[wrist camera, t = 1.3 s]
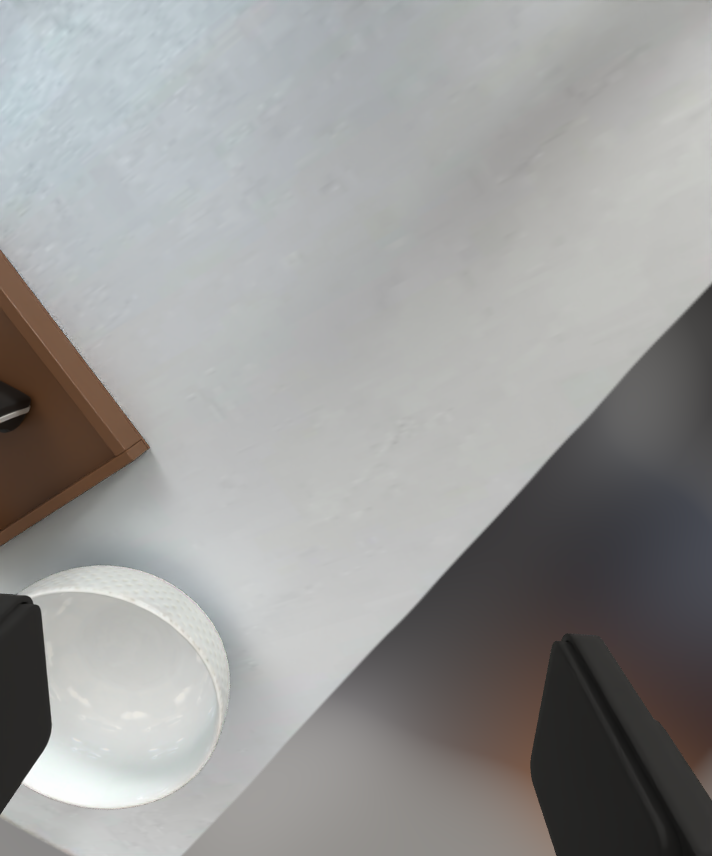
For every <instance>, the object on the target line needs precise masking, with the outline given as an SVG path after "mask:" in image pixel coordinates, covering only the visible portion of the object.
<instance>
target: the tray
mask: <svg viewBox="0 0 712 856" xmlns="http://www.w3.org/2000/svg"><path fill="white" fill-rule="evenodd" d="M0 381H2V382H4V383H6V384H8V385H10V386H11V387H13V388H15V389H17V390H19V391H21V392H23V393H24V394H26V395H28V396H29V397H30V398H31V403H30V409H29V412H28V413H26V415H25V417H24V420H23V421H22V422H21V424H20V425H19V426H18V427H17V428H16V429H14V430H13V431H10V432H7V433H1V432H0V546H2V545H3V544H5V543H6V542H8V541H9V540H11V539H12V538H14V537H16V536H17V535H19V534H20V533H22V532H23V531H25V530H26V529H28V528H30V527H31V526H33V525H34V524H36V523H37V522H39V521H41V520H42V519H44V518H45V517H47V516H48V515H50V514H51V513H53V512H55V511H56V510H58V509H59V508H61V507H62V506H64V505H65V504H67V503H69V502H70V501H72V500H73V499H75V498H76V497H78V496H79V495H81V494H83V493H84V492H86V491H87V490H89V489H90V488H92V487H94V486H95V485H97V484H98V483H100V482H101V481H103V480H104V479H106V478H108V477H109V476H111V475H112V474H114V473H115V472H117V471H118V470H120V469H122V468H123V467H125V466H126V465H128V464H129V463H131V462H133V461H134V460H135V459H136V458H138V457H139V456H140V455H141V454H143V453H144V452H145V451H147V450H148V449H149V448H150V447H149V445H148V444H147V443H146V442H145V440H144V439H143V438H142V436H141V435H140V434H139V432H138V431H137V430H136V428H135V427H134V426H133V424H132V423H131V422H130V420H129V419H128V418H127V416H126V415H125V414H124V412H123V411H122V410H121V408H120V407H119V406H118V405H117V403H116V402H115V401H114V399H113V398H112V397H111V395H110V394H109V393H108V391H107V390H106V389H105V387H104V386H103V385H102V383H101V382H100V381H99V379H98V378H97V377H96V375H95V374H94V373H93V372H92V370H91V369H90V368H89V366H88V365H87V364H86V362H85V361H84V360H83V358H82V357H81V356H80V354H79V353H78V352H77V350H76V349H75V348H74V346H73V345H72V344H71V342H70V341H69V340H68V338H67V337H66V336H65V335H64V333H63V332H62V331H61V329H60V328H59V327H58V325H57V324H56V323H55V321H54V320H53V319H52V317H51V316H50V315H49V313H48V312H47V311H46V309H45V308H44V307H43V305H42V304H41V303H40V302H39V300H38V299H37V298H36V296H35V295H34V294H33V292H32V291H31V290H30V288H29V287H28V286H27V284H26V283H25V282H24V280H23V279H22V278H21V276H20V275H19V274H18V272H17V271H16V270H15V268H14V267H13V266H12V265H11V263H10V262H9V261H8V259H7V258H6V257H5V255H4V254H3V253H2V251H1V250H0Z"/></svg>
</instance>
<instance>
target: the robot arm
mask: <svg viewBox="0 0 712 856" xmlns="http://www.w3.org/2000/svg"><path fill="white" fill-rule="evenodd" d="M51 730H52V720H51V709H50V699H49V688H48V677H47V667H46V656H45V645H44V635H43V624H42V613H41V608H40V607H39V606H38V605H36V604H33V601H32V599H31V597H29V596H27V595H13V594H0V814H1V813H2V811H3V810H4V808H5V807H6V805H7V804H8V802H9V801H10V799H11V798H12V796H13V795H14V793H15V792H16V791H17V789H18V788H19V786H20V785H21V783H22V782H23V780H24V779H25V777H26V776H27V774H28V773H29V771H30V770H31V769H32V767H33V766H34V764H35V763H36V761H37V760H38V758H39V757H40V755H41V754H42V752H43V751H44V749H45V748H46V746H47V744H48V741H49V739H50V735H51ZM531 777H532V782H533V785H534V788H535V791H536V794H537V797H538V801H539V804H540V807H541V810H542V813H543V816H544V819H545V822H546V825H547V828H548V831H549V834H550V837H551V840H552V843H553V846H554V849H555V852H556V855H557V856H712V800H711V799H710V797H709V796H708V794H707V792H706V791H705V789H704V788H703V786H702V785H701V783H700V782H699V780H698V779H697V778H696V776H695V774H694V773H693V772H692V770H691V768H690V767H689V765H688V764H687V762H686V761H685V759H684V758H683V756H682V755H681V753H680V752H679V750H678V748H677V747H676V745H675V744H674V743H673V741H672V739H671V738H670V736H669V735H668V733H667V732H666V730H665V729H664V728H663V727H662V725H661V724H660V723H659V722H658V721H656V720H654V719H653V717H652V716H651V714H650V713H649V711H648V710H647V708H646V707H645V705H644V703H643V702H642V700H641V699H640V697H639V696H638V694H637V693H636V691H635V690H634V688H633V686H632V685H631V684H630V682H629V680H628V679H627V677H626V676H625V674H624V673H623V671H622V670H621V668H620V667H619V665H618V663H617V662H616V660H615V659H614V658H613V656H612V654H611V653H610V651H609V650H608V648H607V646H606V645H605V644H604V642H603V640H602V639H601V638H600V637H599V636H595V635H581V634H565V635H564V636H563V638H562V641H555V642H554V643H553V645H552V649H551V654H550V659H549V665H548V670H547V675H546V681H545V686H544V691H543V696H542V702H541V707H540V712H539V718H538V723H537V729H536V734H535V739H534V744H533V750H532V755H531Z"/></svg>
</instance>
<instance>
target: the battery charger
mask: <svg viewBox="0 0 712 856" xmlns="http://www.w3.org/2000/svg"><path fill="white" fill-rule="evenodd" d="M30 403H31V398H30V397H29V396H28V395H26V394H24V393H23V392H21V391H19V390H17V389H15V388H13V387H11V386H10V385H8V384H6V383H4V382H2V381H0V432H1V433H7V432H10V431H13V430H14V429H16V428H17V427H18V426H19V425H20V424H21V422H22V421H23V420H24V417H25V415H26V413H28V412H29V409H30Z"/></svg>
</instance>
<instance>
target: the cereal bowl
mask: <svg viewBox="0 0 712 856" xmlns="http://www.w3.org/2000/svg"><path fill="white" fill-rule="evenodd" d="M16 595H27V596H29V597H31V599H32V601H33V604H36V605H38V606H39V607H40V608H41V613H42V624H43V635H44V645H45V656H46V667H47V677H48V688H49V699H50V709H51V720H52V730H51V735H50V739H49V741H48V744H47V746H46V748H45V749H44V751H43V752H42V754H41V755H40V757H39V758H38V760H37V761H36V763H35V764H34V766H33V767H32V769H31V770H30V771H29V773H28V774H27V776H26V777H25V779H24V780H23V782H22V783H21V784H23V785H24V786H26V787H28V788H29V789H31V790H33V791H35V792H37V793H39V794H41V795H43V796H46V797H48V798H50V799H53V800H56V801H59V802H63V803H66V804H70V805H74V806H79V807H84V808H92V809H124V808H130V807H136V806H140V805H144V804H148V803H151V802H154V801H157V800H159V799H162V798H164V797H166V796H168V795H170V794H172V793H174V792H176V791H177V790H179V789H180V788H182V787H183V786H184V785H186V784H187V783H188V782H189V781H191V780H192V779H193V778H194V777H195V776H196V775H197V774H198V773H199V772H200V771H201V770H202V768H203V767H204V766H205V764H206V763H207V761H208V760H209V758H210V757H211V755H212V753H213V751H214V749H215V747H216V745H217V743H218V740H219V737H220V735H221V733H222V727H223V724H224V722H225V717H226V713H227V710H228V702H229V690H230V673H229V665H228V660H227V656H226V651H225V650H224V646H223V643H222V640H221V639H220V636H219V633H218V632H217V631H216V629H215V627H214V624H213V623H212V622H211V620H210V619H209V618H208V617H207V615H206V613H205V612H203V610H202V609H201V608H200V607H199V606H198V604H197V603H195V602H194V601H193V600H192V599H191V598H190V597H188V595H187V594H185V593H184V592H183V591H182V590H180V589H178V588H177V587H176V586H173V585H172V584H171V583H169V582H167V581H165V580H164V579H160V578H159V577H156V576H154V575H152V574H148V573H146V572H143V571H140V570H135V569H131V568H126V567H118V566H112V565H109V566H107V565H105V566H103V565H99V566H98V565H94V566H85V567H78V568H72V569H70V570H63V571H61V572H59V573H56V574H51V575H50V576H48V577H46V578H44V579H41V580H39V581H37V582H36V583H34V584H32V585H30V586H28V587H26V588H25V589H24V590H22V591H21V592H19V593H18V594H16Z"/></svg>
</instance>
